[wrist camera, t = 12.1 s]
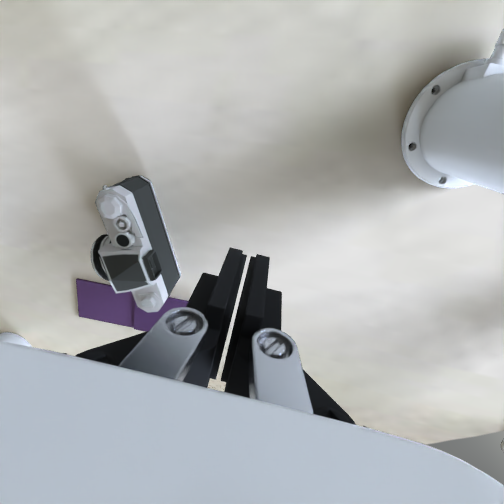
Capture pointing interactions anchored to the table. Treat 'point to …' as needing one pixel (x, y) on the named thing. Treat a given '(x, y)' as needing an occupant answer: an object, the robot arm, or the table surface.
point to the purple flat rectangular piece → (118, 306)
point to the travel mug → (502, 445)
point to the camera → (135, 244)
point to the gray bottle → (13, 339)
